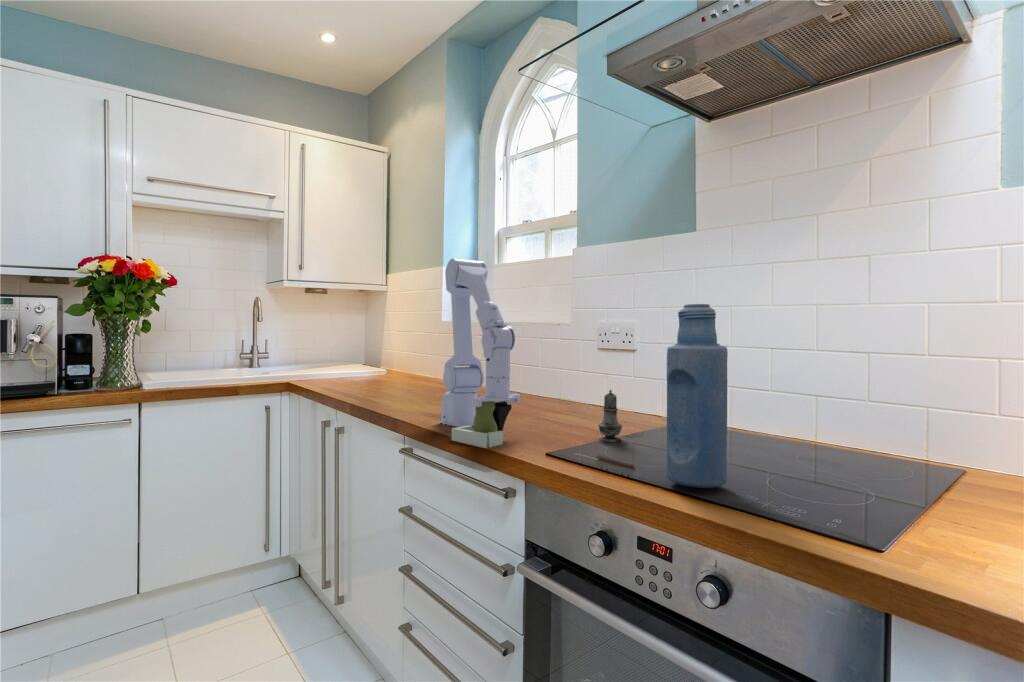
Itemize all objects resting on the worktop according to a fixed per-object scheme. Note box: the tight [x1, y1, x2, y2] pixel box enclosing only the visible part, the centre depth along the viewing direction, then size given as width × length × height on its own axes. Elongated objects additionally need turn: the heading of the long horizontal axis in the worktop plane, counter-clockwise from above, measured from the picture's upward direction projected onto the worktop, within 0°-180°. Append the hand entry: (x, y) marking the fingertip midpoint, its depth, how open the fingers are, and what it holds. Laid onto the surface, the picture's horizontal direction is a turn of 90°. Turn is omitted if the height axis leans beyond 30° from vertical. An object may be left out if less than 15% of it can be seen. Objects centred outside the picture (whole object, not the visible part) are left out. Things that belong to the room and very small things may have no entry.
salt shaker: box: [597, 389, 623, 443], centre depth 127 cm, size 6×6×12 cm
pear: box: [472, 401, 497, 433], centre depth 124 cm, size 6×5×10 cm
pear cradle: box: [451, 426, 504, 449], centre depth 122 cm, size 11×6×3 cm, turn 49°
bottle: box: [666, 303, 729, 489], centre depth 91 cm, size 10×10×30 cm
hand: (497, 434), depth 127 cm, fingers closed
